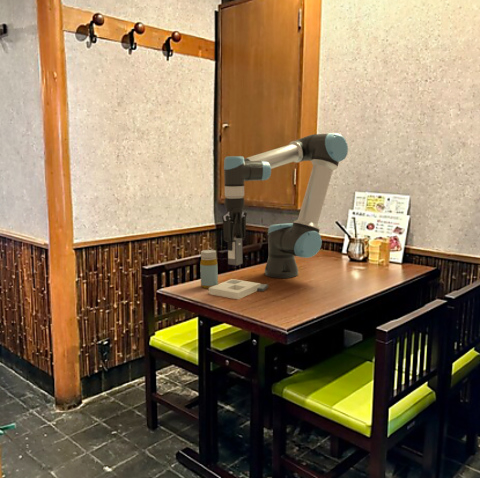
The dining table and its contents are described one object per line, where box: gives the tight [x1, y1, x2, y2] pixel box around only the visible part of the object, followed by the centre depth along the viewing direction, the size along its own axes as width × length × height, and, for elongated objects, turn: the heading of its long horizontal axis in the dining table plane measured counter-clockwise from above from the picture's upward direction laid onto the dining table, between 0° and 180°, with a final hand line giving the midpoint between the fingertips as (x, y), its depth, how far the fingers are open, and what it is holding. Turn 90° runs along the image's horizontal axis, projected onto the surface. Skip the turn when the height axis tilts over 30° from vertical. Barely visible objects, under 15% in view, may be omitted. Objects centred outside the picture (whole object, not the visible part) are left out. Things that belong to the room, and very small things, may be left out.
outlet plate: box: [208, 278, 262, 300], centre depth 195 cm, size 16×14×3 cm
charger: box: [227, 236, 244, 266], centre depth 190 cm, size 4×4×10 cm
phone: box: [256, 283, 269, 292], centre depth 199 cm, size 7×4×1 cm, turn 161°
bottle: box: [199, 249, 219, 290], centre depth 202 cm, size 7×7×15 cm
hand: (235, 257), depth 190 cm, fingers closed on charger, 4 cm apart
